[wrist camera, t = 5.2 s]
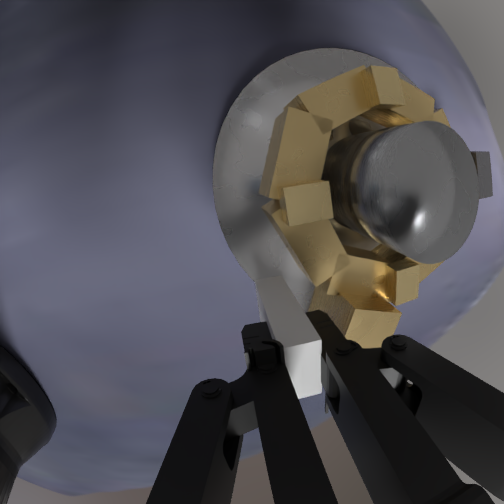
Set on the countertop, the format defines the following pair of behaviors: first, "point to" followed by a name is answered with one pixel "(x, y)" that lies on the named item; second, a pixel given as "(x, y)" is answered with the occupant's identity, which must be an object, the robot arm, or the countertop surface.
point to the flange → (346, 176)
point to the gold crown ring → (320, 205)
